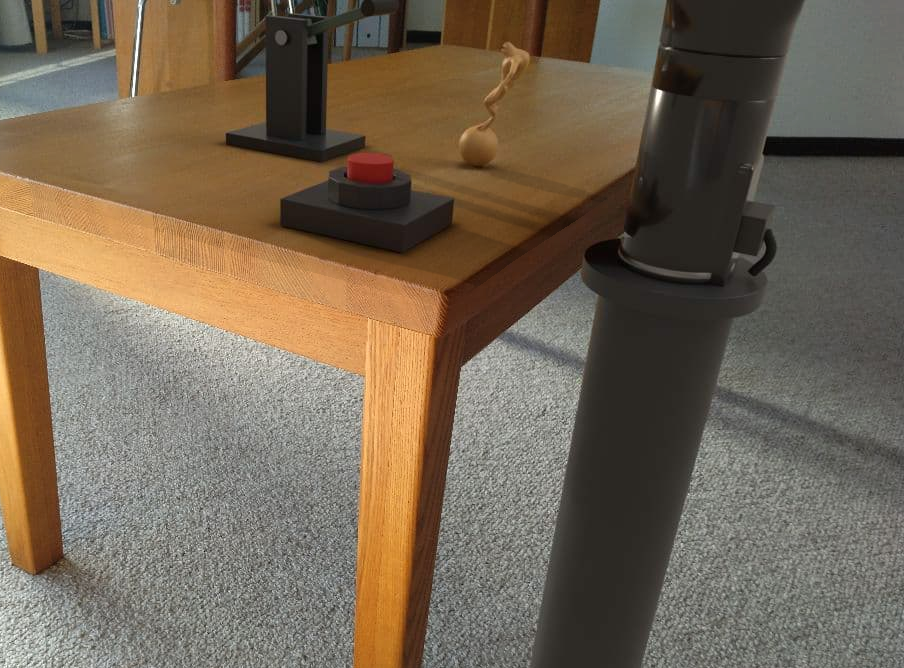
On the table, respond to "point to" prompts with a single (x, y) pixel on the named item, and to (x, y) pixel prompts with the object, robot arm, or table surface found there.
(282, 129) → the bracket
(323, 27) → the lever
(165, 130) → the table surface
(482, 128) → the figurine
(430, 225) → the button block
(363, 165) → the button
